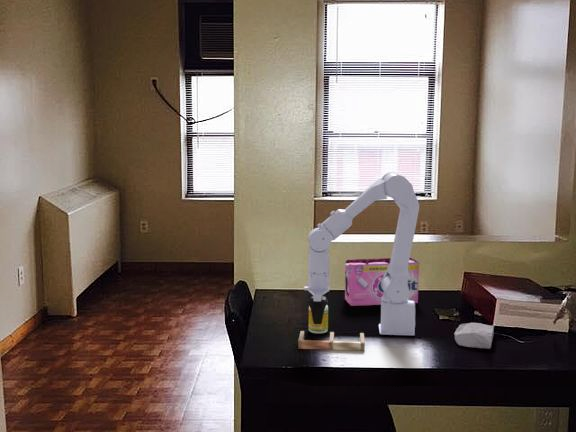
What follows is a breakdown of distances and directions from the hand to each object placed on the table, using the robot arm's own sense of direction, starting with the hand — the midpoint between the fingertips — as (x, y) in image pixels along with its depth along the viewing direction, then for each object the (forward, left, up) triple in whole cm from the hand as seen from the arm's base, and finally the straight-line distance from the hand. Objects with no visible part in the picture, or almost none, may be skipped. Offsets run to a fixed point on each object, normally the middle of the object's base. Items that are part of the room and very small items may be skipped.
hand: (318, 319), depth 177 cm
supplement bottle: (0, 0, -4) cm, 4 cm away
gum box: (-19, -32, -4) cm, 37 cm away
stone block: (-42, +3, -4) cm, 42 cm away
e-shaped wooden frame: (-4, +10, -3) cm, 11 cm away
